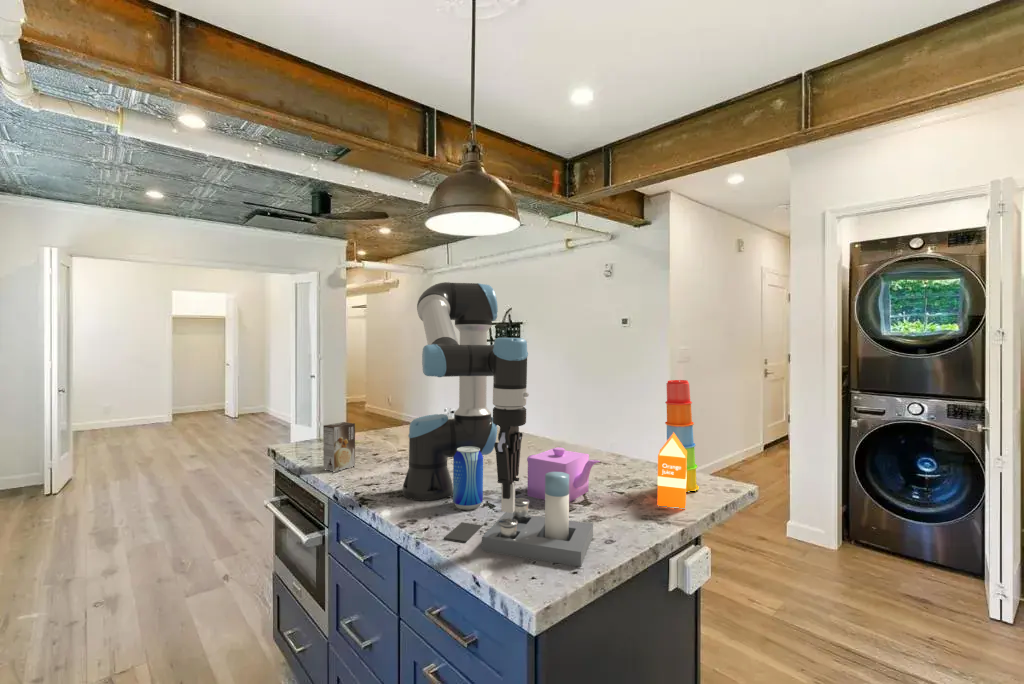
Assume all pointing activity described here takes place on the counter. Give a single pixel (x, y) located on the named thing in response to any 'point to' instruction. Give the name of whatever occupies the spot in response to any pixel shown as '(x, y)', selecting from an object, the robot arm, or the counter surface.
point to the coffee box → (339, 446)
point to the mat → (463, 532)
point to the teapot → (559, 462)
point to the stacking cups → (682, 425)
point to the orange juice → (672, 474)
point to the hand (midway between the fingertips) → (508, 510)
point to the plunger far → (521, 509)
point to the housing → (540, 541)
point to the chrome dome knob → (508, 528)
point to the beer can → (468, 478)
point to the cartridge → (557, 506)
